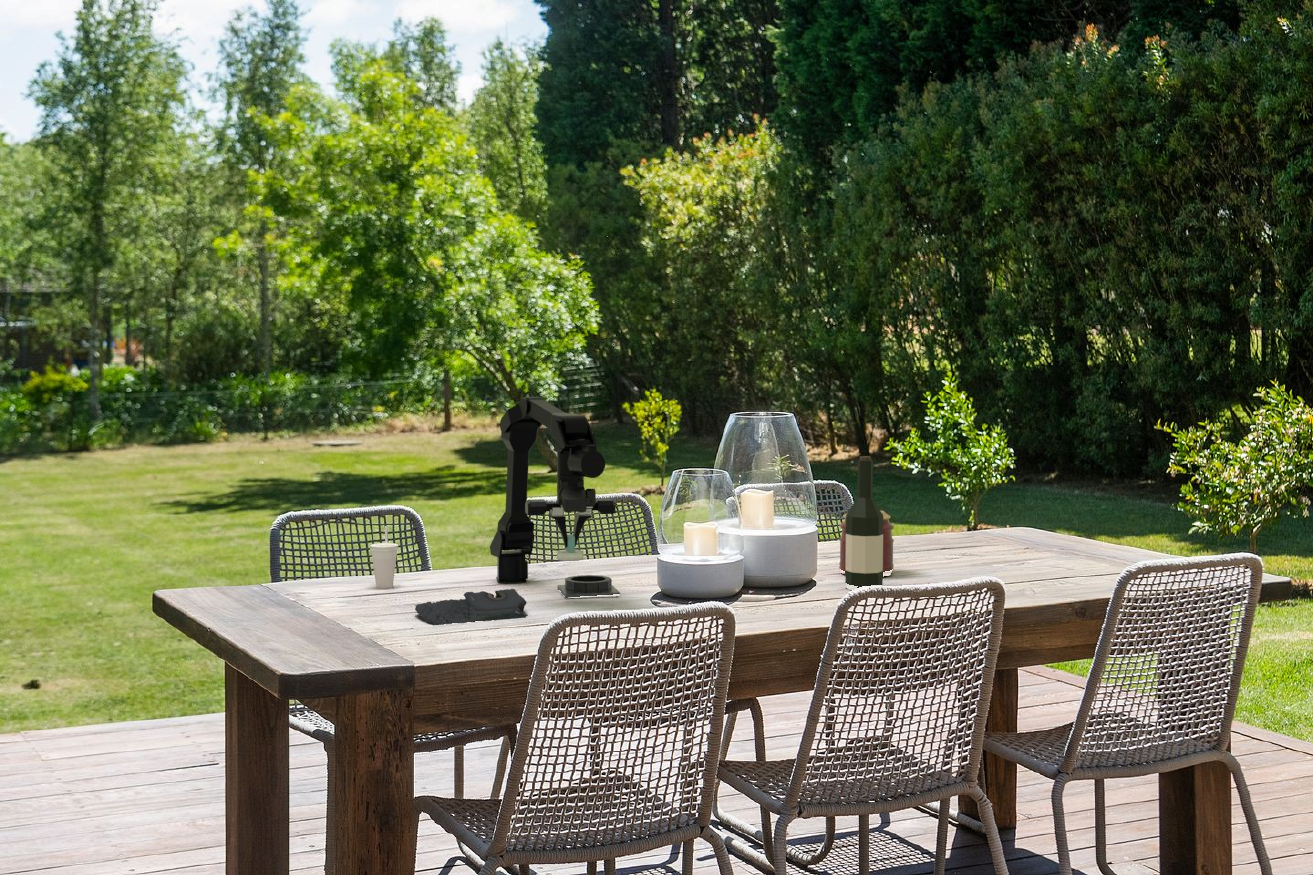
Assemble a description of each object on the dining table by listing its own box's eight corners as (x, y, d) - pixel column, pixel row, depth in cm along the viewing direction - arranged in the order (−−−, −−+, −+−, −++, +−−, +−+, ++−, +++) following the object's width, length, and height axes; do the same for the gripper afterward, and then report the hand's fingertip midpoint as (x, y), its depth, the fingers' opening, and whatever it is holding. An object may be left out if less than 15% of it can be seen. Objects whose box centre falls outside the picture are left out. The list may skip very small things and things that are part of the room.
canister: (828, 572, 324) (829, 500, 323) (873, 568, 330) (874, 497, 329) (858, 580, 312) (859, 505, 311) (904, 576, 318) (905, 503, 317)
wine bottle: (881, 585, 304) (882, 455, 303) (883, 592, 296) (885, 458, 294) (844, 585, 305) (845, 455, 304) (846, 591, 297) (847, 457, 295)
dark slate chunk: (408, 615, 271) (407, 592, 271) (510, 606, 281) (509, 584, 281) (429, 628, 258) (429, 604, 257) (535, 619, 267) (535, 595, 267)
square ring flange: (565, 598, 287) (565, 584, 287) (557, 589, 299) (557, 575, 299) (620, 596, 290) (620, 582, 290) (610, 587, 301) (610, 573, 301)
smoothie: (392, 590, 298) (391, 527, 297) (365, 589, 299) (364, 527, 298) (403, 585, 304) (402, 524, 303) (377, 584, 305) (376, 523, 304)
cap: (559, 561, 280) (559, 537, 280) (555, 557, 286) (555, 534, 285) (585, 560, 281) (585, 537, 281) (581, 556, 287) (581, 533, 287)
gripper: (531, 478, 273) (531, 553, 274) (620, 477, 276) (620, 551, 277) (524, 473, 283) (524, 546, 284) (611, 472, 287) (610, 543, 288)
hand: (570, 547), depth 283 cm, fingers closed on cap
